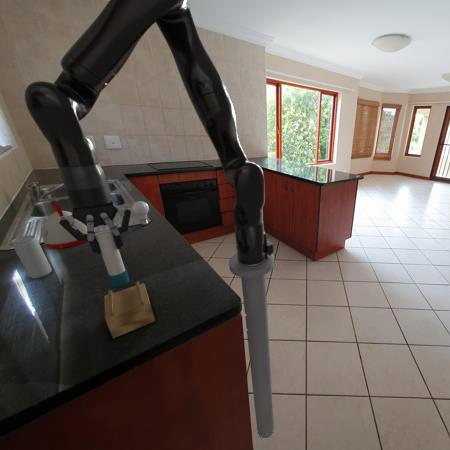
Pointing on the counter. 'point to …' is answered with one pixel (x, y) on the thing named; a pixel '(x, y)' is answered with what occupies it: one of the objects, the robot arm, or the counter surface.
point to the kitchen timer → (60, 230)
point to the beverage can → (32, 256)
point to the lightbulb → (141, 211)
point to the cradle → (127, 310)
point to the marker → (112, 258)
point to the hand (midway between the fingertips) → (109, 249)
